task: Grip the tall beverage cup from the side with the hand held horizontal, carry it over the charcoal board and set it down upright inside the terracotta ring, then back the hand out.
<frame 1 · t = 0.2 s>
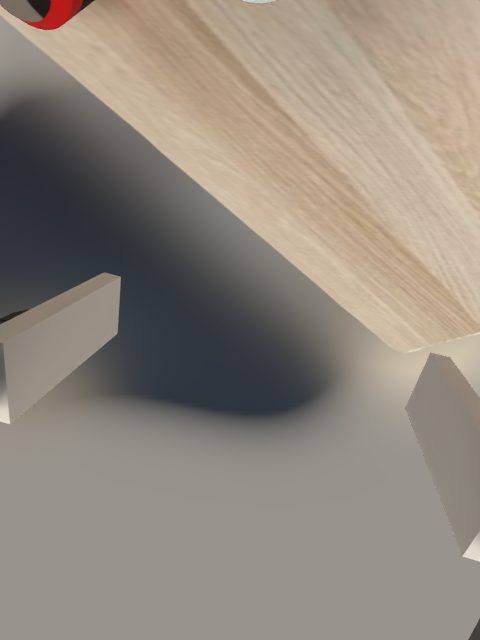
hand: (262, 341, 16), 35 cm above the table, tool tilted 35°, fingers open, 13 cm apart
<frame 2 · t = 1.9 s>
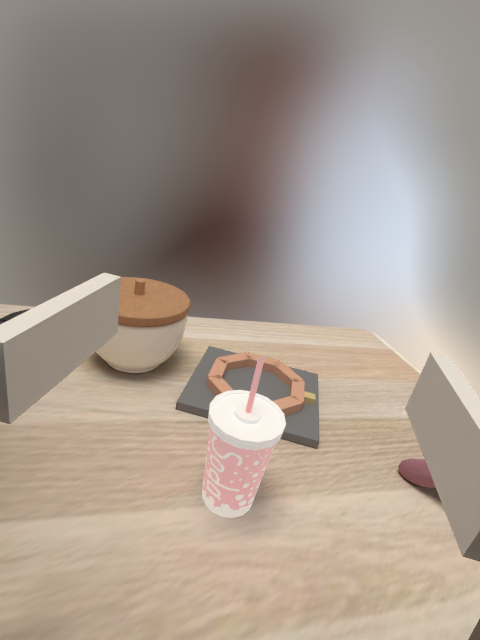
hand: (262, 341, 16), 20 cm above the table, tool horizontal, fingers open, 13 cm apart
lidded bowl: (133, 359, 49), on the table
beverage cup: (227, 495, 33), on the table
ring board: (254, 392, 47), on the table
video game controller: (439, 477, 40), on the table
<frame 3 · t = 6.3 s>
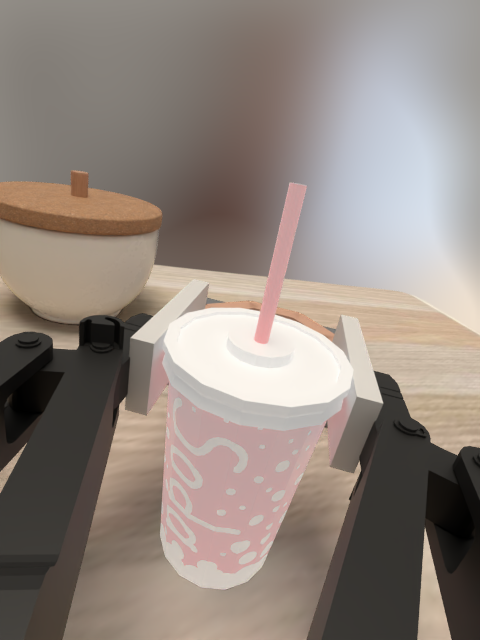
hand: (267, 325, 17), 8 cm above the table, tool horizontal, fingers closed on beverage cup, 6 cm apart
lidded bowl: (78, 308, 32), on the table
beverage cup: (214, 534, 16), on the table, touching gripper
ring board: (262, 355, 30), on the table
when the fingers open (10 cm above the table, at t = 10.9 s): beverage cup drops 2 cm, resting on ring board.
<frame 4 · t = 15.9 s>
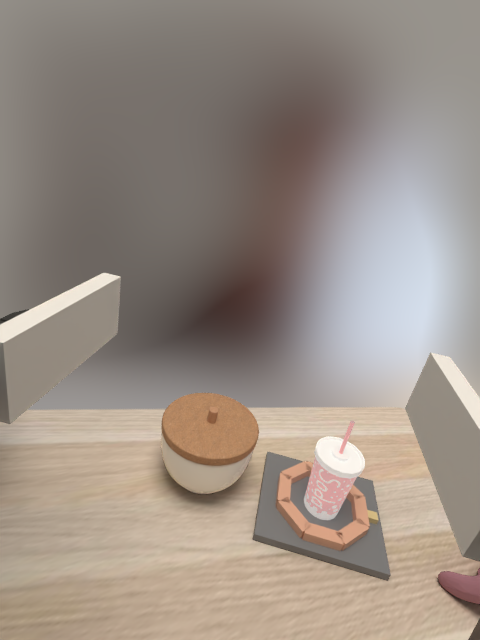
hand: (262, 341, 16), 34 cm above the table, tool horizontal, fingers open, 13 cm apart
lidded bowl: (201, 473, 52), on the table
beverage cup: (320, 505, 49), point 1 cm above the table, touching ring board
ring board: (318, 509, 50), on the table
video game controller: (473, 582, 45), on the table
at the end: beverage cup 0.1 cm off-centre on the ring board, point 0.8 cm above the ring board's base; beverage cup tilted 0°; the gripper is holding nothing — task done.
